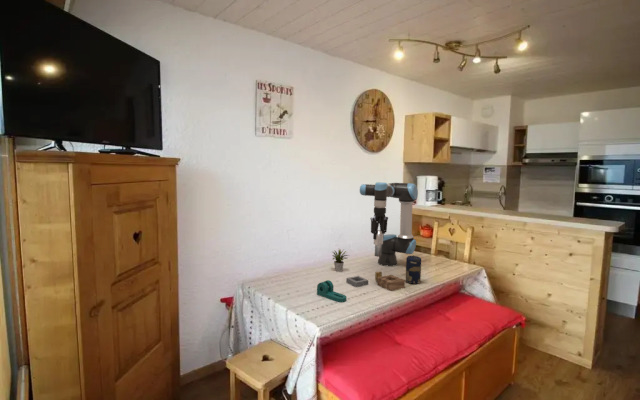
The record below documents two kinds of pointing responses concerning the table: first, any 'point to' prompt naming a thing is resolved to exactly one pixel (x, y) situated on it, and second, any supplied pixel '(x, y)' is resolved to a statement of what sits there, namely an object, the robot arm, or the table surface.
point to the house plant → (339, 260)
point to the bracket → (329, 292)
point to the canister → (413, 269)
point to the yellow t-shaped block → (378, 275)
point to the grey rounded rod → (378, 247)
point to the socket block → (391, 282)
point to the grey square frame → (357, 281)
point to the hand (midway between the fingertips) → (378, 243)
